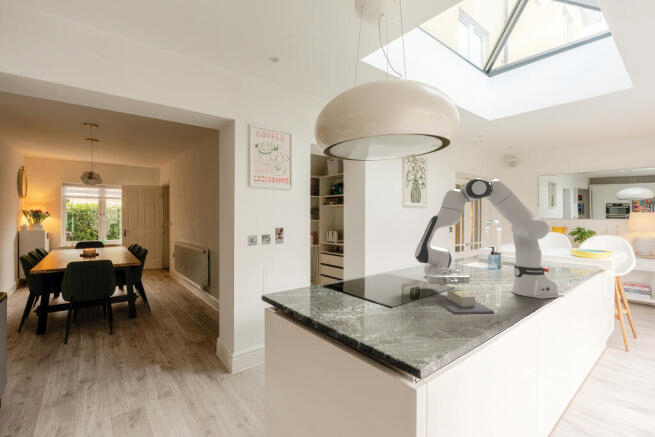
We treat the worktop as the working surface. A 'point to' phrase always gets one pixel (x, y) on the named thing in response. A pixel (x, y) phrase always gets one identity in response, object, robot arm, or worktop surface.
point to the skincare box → (461, 298)
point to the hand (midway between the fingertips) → (455, 282)
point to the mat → (464, 308)
